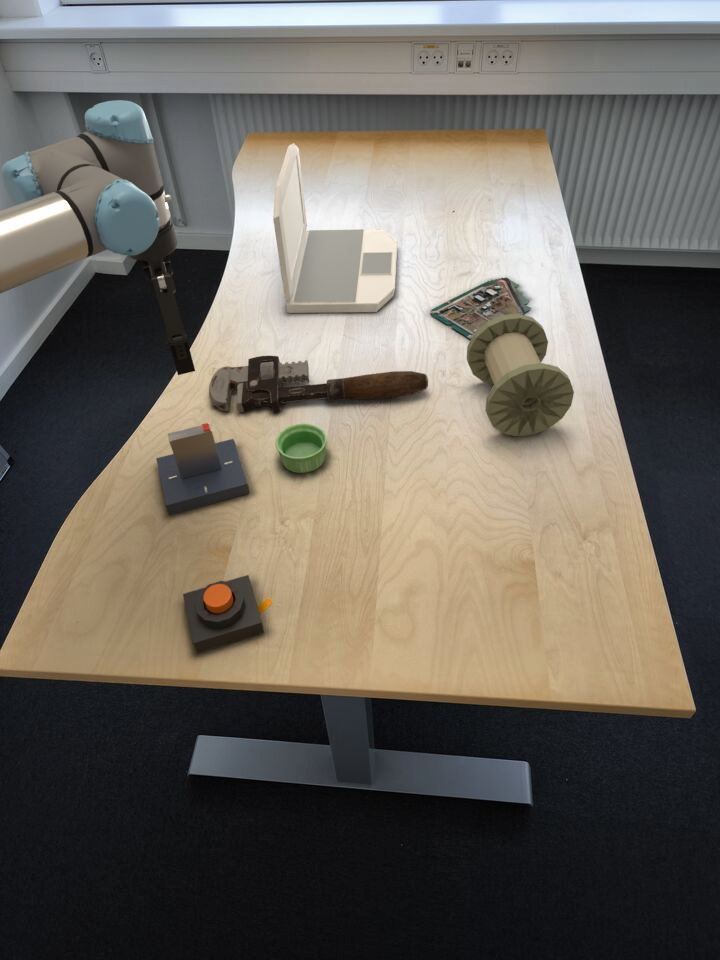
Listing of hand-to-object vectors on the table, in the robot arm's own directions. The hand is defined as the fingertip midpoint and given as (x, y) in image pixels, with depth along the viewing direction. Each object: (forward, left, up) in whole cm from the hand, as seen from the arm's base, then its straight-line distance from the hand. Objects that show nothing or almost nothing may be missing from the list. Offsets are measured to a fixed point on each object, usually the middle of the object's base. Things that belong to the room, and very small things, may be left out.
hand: (179, 347), depth 118 cm
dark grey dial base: (-2, -8, -23) cm, 24 cm away
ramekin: (+16, -9, -23) cm, 29 cm away
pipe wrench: (+24, +9, -23) cm, 34 cm away
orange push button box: (-4, -37, -23) cm, 44 cm away
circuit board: (+65, +22, -23) cm, 72 cm away
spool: (+57, -10, -23) cm, 62 cm away
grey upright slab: (-2, -8, -20) cm, 22 cm away
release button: (-4, -37, -19) cm, 42 cm away
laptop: (+42, +48, -23) cm, 68 cm away
